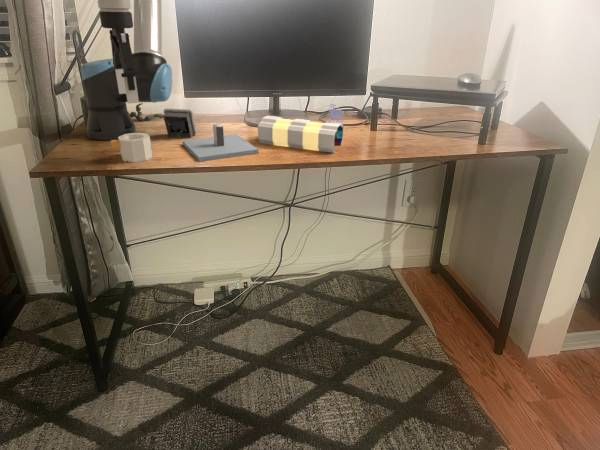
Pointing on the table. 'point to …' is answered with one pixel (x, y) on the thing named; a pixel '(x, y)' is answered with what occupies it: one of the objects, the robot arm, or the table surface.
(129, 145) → the beige octagonal hollow block
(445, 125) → the table surface
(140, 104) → the zombie figurine
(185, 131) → the electrical switch
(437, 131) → the table surface
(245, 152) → the shaft plate
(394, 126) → the table surface
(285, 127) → the striped octagonal tube
